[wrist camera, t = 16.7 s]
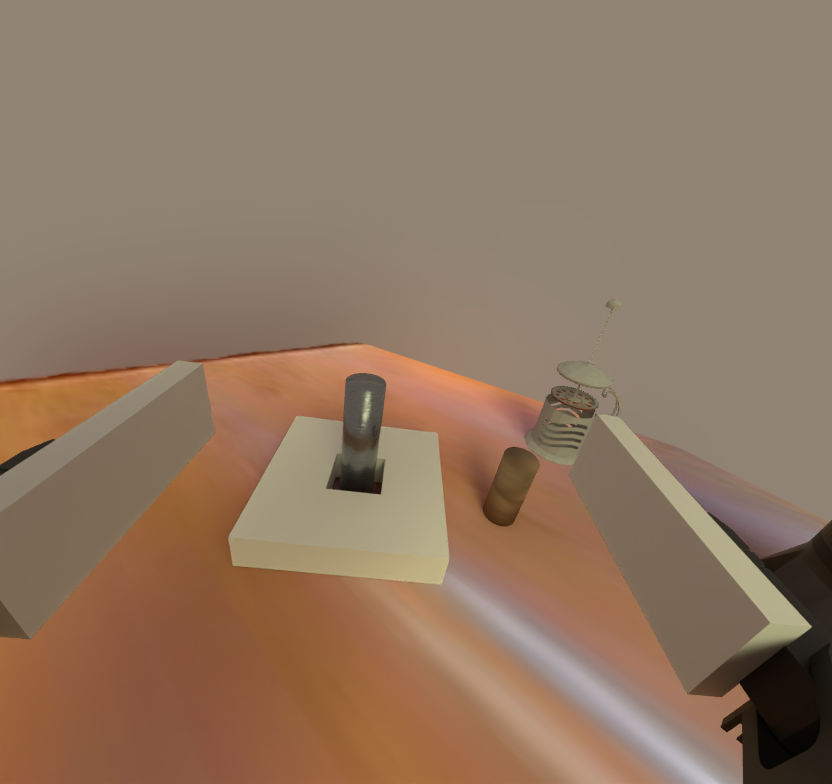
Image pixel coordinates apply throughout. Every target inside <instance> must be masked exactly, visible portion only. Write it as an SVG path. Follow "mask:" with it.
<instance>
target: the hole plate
mask: <svg viewBox="0 0 832 784" xmlns="http://www.w3.org/2000/svg"><path fill="white" fill-rule="evenodd" d="M342 436H343V421H336V420H328V419H320V418H312V417H304V416H296V418H295V420H294V421H293V423H292V425H291V427H290V429H289V430H288V432H287V434H286V436H285V437H284V439H283V441H282V443H281V444H280V446H279V448H278V450H277V452H276V453H275V455H274V457H273V459H272V460H271V462H270V464H269V466H268V468H267V469H266V471H265V473H264V475H263V476H262V478H261V480H260V482H259V483H258V485H257V487H256V489H255V491H254V492H253V494H252V496H251V498H250V499H249V501H248V503H247V505H246V506H245V508H244V510H243V512H242V514H241V515H240V517H239V519H238V521H237V522H236V524H235V526H234V528H233V529H232V531H231V533H230V535H229V537H228V540H229V546H230V552H231V558H232V564H233V566H242V567H253V568H264V569H275V570H286V571H297V572H307V573H318V574H329V575H340V576H351V577H362V578H373V579H384V580H395V581H406V582H417V583H428V584H439V585H442V581H443V578H444V575H445V572H446V568H447V565H448V562H449V549H448V539H447V528H446V518H445V507H444V496H443V486H442V475H441V465H440V454H439V443H438V433H433V432H425V431H417V430H409V429H401V428H393V427H385V426H381V431H380V439H379V447H378V455H377V464H376V472H375V480H374V482H379V483H382V488H381V495H379V494H370V493H361V492H352V491H342V490H333V485H334V482H335V479H336V478H340V470H341V453H342Z"/></svg>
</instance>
